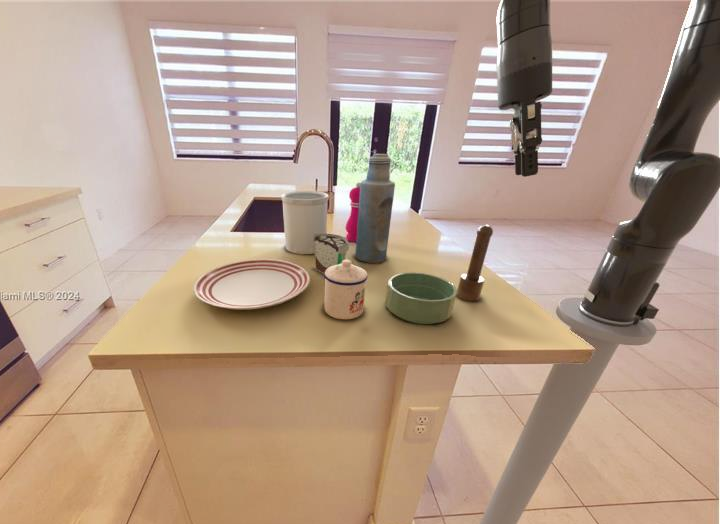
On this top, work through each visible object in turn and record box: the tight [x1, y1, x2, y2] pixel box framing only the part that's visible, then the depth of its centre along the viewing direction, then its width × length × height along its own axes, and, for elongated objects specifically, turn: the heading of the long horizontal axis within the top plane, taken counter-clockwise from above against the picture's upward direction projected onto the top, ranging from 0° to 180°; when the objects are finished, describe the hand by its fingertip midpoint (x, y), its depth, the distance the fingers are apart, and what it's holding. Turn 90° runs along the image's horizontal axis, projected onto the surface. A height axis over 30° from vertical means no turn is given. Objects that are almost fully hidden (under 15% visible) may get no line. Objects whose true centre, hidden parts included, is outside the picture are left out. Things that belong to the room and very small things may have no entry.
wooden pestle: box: [456, 224, 494, 302], centre depth 73 cm, size 5×5×18 cm
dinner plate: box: [193, 258, 311, 310], centre depth 77 cm, size 27×27×3 cm
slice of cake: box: [313, 233, 350, 275], centre depth 86 cm, size 12×6×10 cm, turn 35°
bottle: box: [355, 153, 396, 264], centre depth 92 cm, size 10×10×30 cm
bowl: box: [385, 272, 458, 325], centre depth 69 cm, size 14×14×6 cm
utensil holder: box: [281, 190, 330, 255], centre depth 102 cm, size 15×15×18 cm
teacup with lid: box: [323, 259, 368, 320], centre depth 68 cm, size 12×9×12 cm
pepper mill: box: [345, 182, 361, 243], centre depth 111 cm, size 7×7×20 cm
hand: (525, 175), depth 56 cm, fingers open, 8 cm apart
